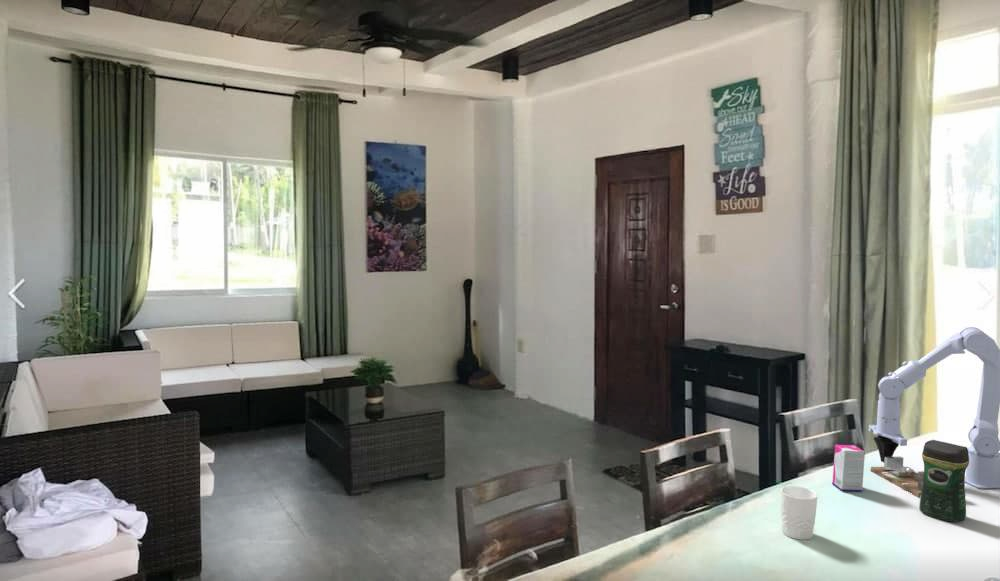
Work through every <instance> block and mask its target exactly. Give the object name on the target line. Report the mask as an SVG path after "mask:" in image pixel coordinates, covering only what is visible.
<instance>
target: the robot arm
mask: <svg viewBox="0 0 1000 581" xmlns="http://www.w3.org/2000/svg"><path fill="white" fill-rule="evenodd" d="M965 350H966V351H968V352H970V353H971V354H973V355H974V356H977V358H978V359H980V361H982V362H983V366H982V372H981V380H980V389H979V395H978V396H979V397H978V403H977V404H978V405H977V410H976V417H975V419H974V420H973V426H972V427H971V429H970V430H969V431H968V437H967V438H968V440H969V442H970V443H971V445H970V446H969V447H967V449H968V453H969V454H968V455H969V465H968V467H967V468H966V471H965V483H966V484H968V485H970V486H973V487H974V488H977V489H980V490H981V489H983V490H984V489H985V490H986V489H1000V438H999V431H1000V430H999V424H998V422H999V413H1000V347H999V346H998V345H997V343H996V341H995V339H994V338H992V337H991V336H990V335H988V334H986V333H985V332H984V331H983V330H981V329H979V328H978V327H974V326H970V327H969V326H968V327H965V328H963V329H962V330H961V331H960V332H956V333H955V334H953V335H952V336H950V337H948V338H947V339H946V340H944V341H942V343H941V344H939V345H938V346H936V347H935V348H933V349H932V350H931V351H930V352H928V353H927V354H925V355H924V356H922V357H921V358H920V359H919V360H911V359H910V360H909V361H906V360H905V361H904V362H902V363H901V364H902V366H900V367H899V368H897V369H896V370H894V371H893V372H891V371H890V372H888V376H883V377H882V378H881V379H879V382H878V383H877V388H878V389H879V394H878V401H877V413H876V416H877V417H876V424H869V425H868V432H870V433H872V434H873V435H876V436H874V437H873V441H874V442H875V445H876V447H877V449H878V450H877V451H878V454H879V457H880V458H879V459H880V461H881V463H883V464H884V459H885V457H894V454H895V452H896V450H897V448H898V447H899V446H900V447H905V446H908V439H907V438H906V437H904V436H903V435H902V434H901V433H900V432H899V431H900V430H899V429H900V415H901V414H900V413H901V402H900V398H901V396H902V394H903V391H904V390H908V389H909V388H910V387H912V386H913V385H914V384H917V383H918V382H919V381H920V380H922V379H923V378H925V377H926V375H927V370H928V369H930V368H932V367H933V366H936V365H937V364H938V363H940V362H941V361H943V360H945V359H947V357H950V356H951V355H959V354H963V355H964V354H966V351H965Z"/></svg>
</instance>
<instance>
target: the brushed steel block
mask: <svg viewBox="0 0 1000 581" xmlns="http://www.w3.org/2000/svg"><path fill="white" fill-rule="evenodd" d="M883 467H884V469H885V470H884V471H889V472H891V473H893V474H894V475H896V476H898V477H899V476H915V473H916V472H915V470H914V469H913V468H911V467H909V466H904V457H903V456H892V457H885V459H884V463H883Z"/></svg>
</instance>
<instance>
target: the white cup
mask: <svg viewBox="0 0 1000 581" xmlns="http://www.w3.org/2000/svg"><path fill="white" fill-rule="evenodd" d="M818 496H819V495H818V493H817V492H816V491H814V490H812V489H811V488H807V487H804V486H803V487H802V486H794V485H793V486H792V485H789V486H788V485H787V486H784V487H781V488H780V520H781V532H782V534H784V536H787V537H788V538H792V539H795V540H802V541H804V540H810V539H812V538H813V536H814V528H815V523H816V516H817V508H818V507H817V506H818Z"/></svg>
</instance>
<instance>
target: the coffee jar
mask: <svg viewBox="0 0 1000 581" xmlns="http://www.w3.org/2000/svg"><path fill="white" fill-rule="evenodd" d="M968 454H969V453H968V447H967V446H964V445H959V444H954V443H950V442H945V441H941V440H936V439H931V440H927V441H926V442H925V443H924V445H923V449H922V454H921V458H922V462H923V471H924V478H923V485H922V491H921V496H920V497H919V504H918V509H919V511H920V512H921V513H923V514H924V515H927V516H930V517H933V518H936V519H939V520H944V521H948V522H962V521H963V520H965V519H966V517H967V502H966V500H967V499H966V485H965V483H966V482H965V477H966V469H967V467H968V465H969V455H968Z"/></svg>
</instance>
